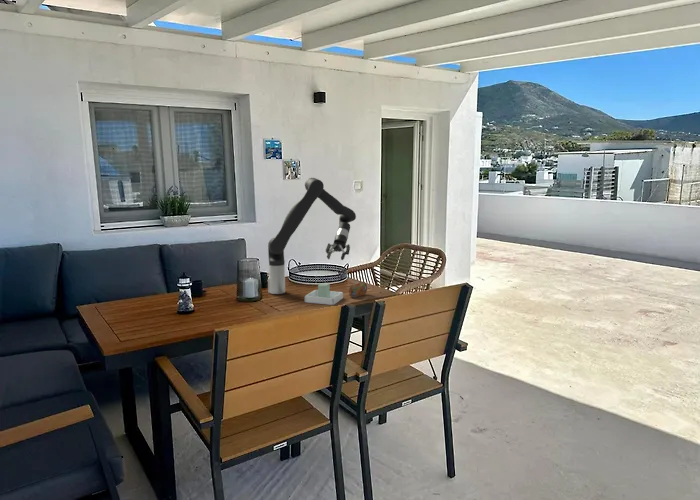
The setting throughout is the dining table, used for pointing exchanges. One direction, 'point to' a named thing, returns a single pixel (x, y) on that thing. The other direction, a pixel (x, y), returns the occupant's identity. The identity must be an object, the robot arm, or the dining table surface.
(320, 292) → the green block
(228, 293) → the dining table surface
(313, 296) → the tray
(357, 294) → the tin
